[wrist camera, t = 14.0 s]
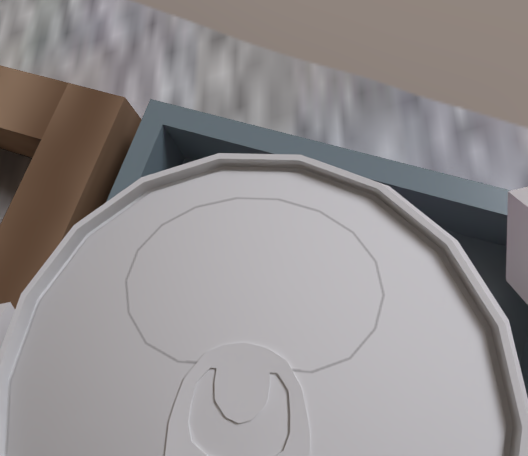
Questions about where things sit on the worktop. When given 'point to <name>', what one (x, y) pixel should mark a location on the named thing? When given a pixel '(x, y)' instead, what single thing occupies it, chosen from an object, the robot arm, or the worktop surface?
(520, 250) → the robot arm
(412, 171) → the tray
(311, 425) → the white soda can
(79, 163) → the can holder
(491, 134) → the worktop surface
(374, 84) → the worktop surface
